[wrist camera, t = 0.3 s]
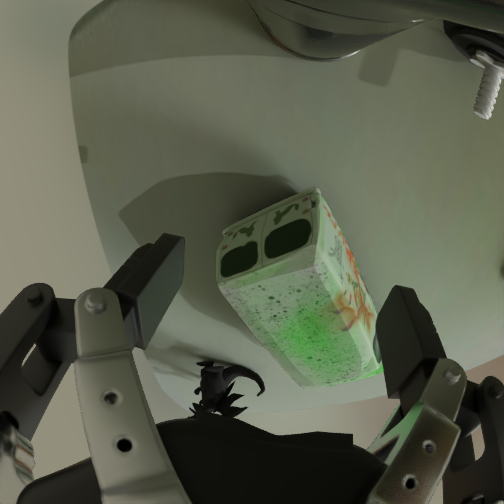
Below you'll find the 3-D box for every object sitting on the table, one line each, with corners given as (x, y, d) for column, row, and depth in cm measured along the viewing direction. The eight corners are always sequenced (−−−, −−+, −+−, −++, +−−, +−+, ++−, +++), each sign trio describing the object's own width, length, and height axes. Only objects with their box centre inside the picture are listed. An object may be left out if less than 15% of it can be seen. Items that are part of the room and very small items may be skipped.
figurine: (233, 353, 52) (233, 407, 50) (167, 355, 46) (169, 413, 44) (281, 369, 38) (279, 437, 36) (193, 378, 32) (197, 453, 30)
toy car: (318, 357, 40) (317, 418, 32) (223, 220, 30) (192, 282, 22) (388, 336, 36) (399, 398, 27) (318, 175, 25) (326, 227, 17)
